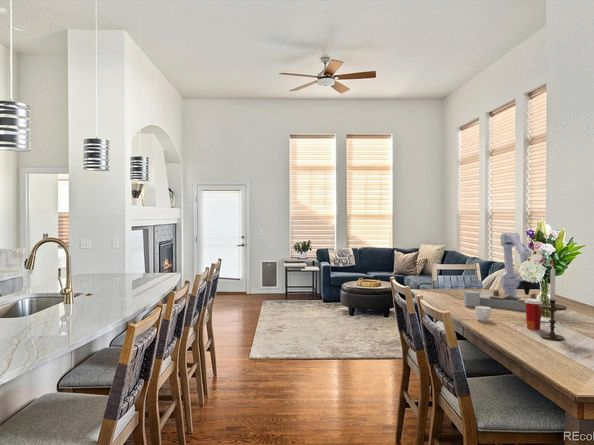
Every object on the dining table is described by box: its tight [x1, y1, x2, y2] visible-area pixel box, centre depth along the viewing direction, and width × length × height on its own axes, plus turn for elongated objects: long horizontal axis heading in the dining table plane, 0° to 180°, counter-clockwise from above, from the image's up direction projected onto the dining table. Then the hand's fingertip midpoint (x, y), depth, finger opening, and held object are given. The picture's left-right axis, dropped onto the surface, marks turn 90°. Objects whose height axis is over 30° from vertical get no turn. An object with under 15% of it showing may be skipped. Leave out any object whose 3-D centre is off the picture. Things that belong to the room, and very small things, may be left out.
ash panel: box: [518, 293, 538, 302], centre depth 267 cm, size 15×8×4 cm, turn 138°
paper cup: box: [525, 298, 544, 331], centre depth 219 cm, size 8×8×14 cm
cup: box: [474, 306, 492, 322], centre depth 236 cm, size 8×10×7 cm
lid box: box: [480, 293, 526, 312], centre depth 275 cm, size 16×32×5 cm, turn 48°
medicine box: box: [463, 291, 481, 308], centre depth 275 cm, size 8×4×9 cm, turn 84°
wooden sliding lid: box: [489, 289, 511, 299], centre depth 277 cm, size 15×8×4 cm, turn 138°
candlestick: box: [539, 260, 567, 342], centre depth 202 cm, size 11×11×35 cm
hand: (526, 294), depth 267 cm, fingers closed
